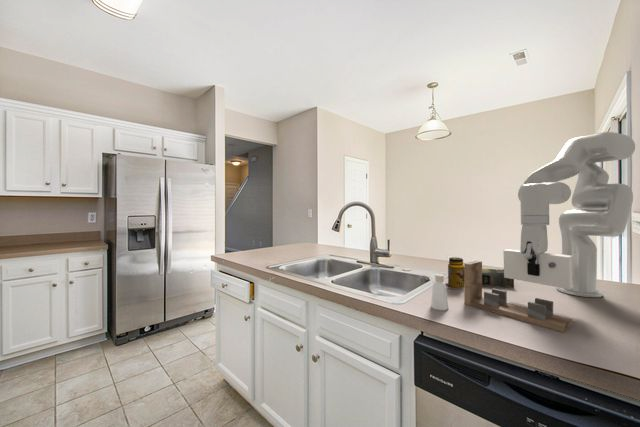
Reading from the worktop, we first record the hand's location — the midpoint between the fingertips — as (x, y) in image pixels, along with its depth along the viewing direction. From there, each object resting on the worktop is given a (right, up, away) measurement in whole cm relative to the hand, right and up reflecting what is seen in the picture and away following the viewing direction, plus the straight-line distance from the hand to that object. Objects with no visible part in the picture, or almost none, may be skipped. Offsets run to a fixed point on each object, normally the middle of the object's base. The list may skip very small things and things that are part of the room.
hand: (535, 273), depth 91 cm
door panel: (0, -3, 0) cm, 3 cm away
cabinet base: (-12, -11, -8) cm, 18 cm away
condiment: (-17, -10, +21) cm, 29 cm away
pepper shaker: (-33, -11, -1) cm, 35 cm away
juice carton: (-2, -10, +26) cm, 28 cm away
